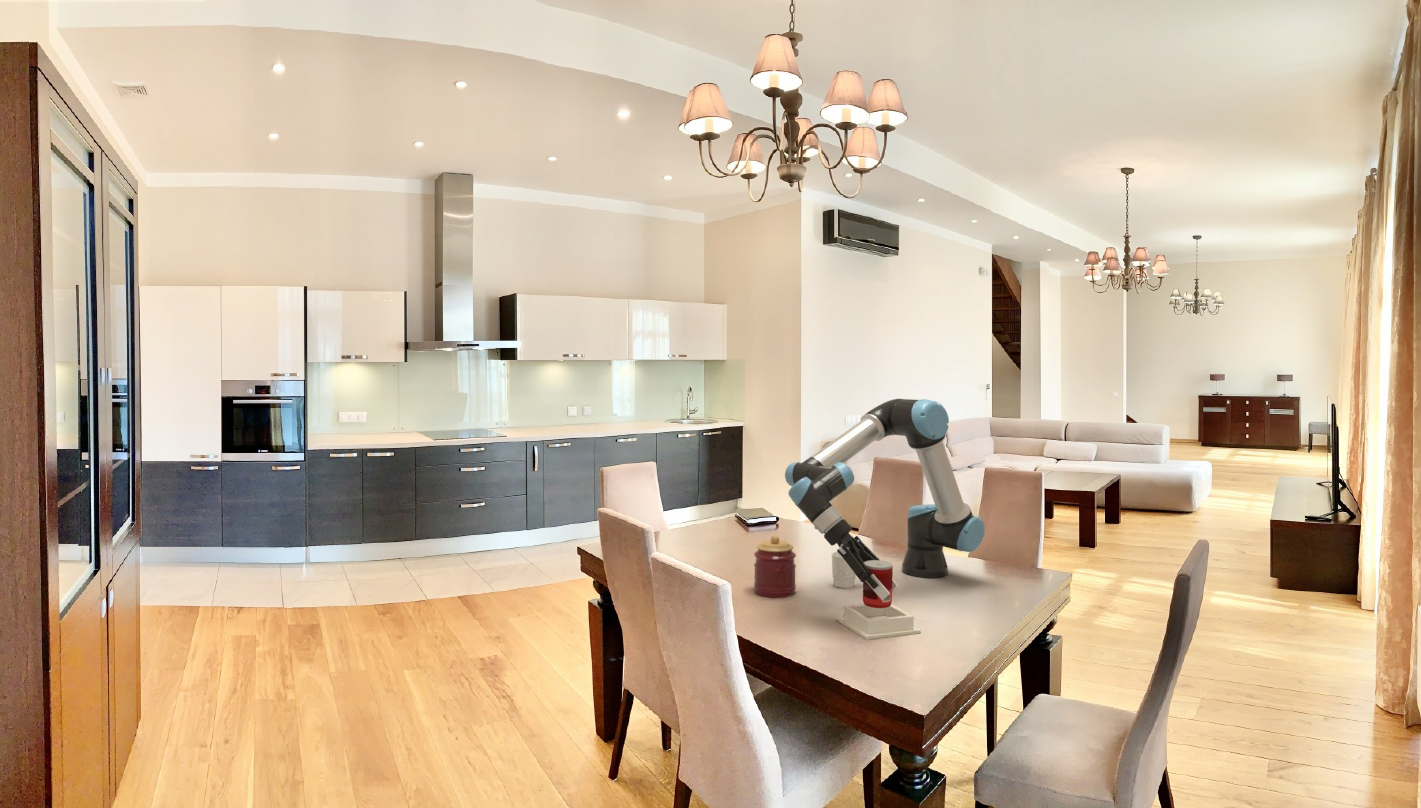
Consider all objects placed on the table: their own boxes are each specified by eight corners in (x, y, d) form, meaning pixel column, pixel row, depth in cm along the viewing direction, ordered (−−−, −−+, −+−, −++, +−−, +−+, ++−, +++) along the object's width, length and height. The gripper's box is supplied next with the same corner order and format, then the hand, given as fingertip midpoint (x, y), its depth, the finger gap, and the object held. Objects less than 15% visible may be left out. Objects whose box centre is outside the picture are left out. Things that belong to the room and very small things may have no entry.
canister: (802, 596, 232) (802, 538, 231) (762, 599, 229) (762, 541, 228) (786, 584, 245) (786, 530, 244) (748, 587, 241) (748, 532, 240)
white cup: (856, 589, 239) (856, 558, 239) (830, 588, 241) (831, 556, 240) (856, 582, 247) (856, 552, 247) (832, 581, 249) (832, 550, 248)
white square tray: (888, 614, 215) (888, 599, 215) (920, 633, 200) (920, 617, 200) (837, 620, 210) (837, 604, 210) (866, 639, 195) (866, 623, 195)
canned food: (893, 601, 207) (894, 561, 206) (890, 609, 199) (891, 568, 199) (864, 598, 209) (865, 558, 209) (860, 606, 202) (861, 565, 201)
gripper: (835, 528, 220) (889, 590, 213) (810, 542, 201) (869, 611, 195) (853, 511, 217) (909, 574, 211) (830, 524, 199) (890, 594, 192)
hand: (890, 592), depth 203 cm, fingers closed on canned food, 8 cm apart
